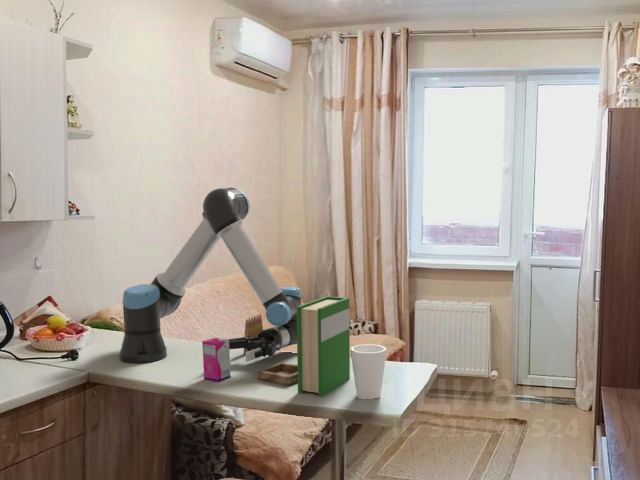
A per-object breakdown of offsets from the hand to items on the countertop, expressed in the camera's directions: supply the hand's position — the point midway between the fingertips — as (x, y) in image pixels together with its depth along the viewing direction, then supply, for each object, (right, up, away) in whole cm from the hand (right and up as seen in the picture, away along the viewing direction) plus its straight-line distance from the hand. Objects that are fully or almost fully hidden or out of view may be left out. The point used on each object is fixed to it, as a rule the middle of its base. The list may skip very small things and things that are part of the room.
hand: (228, 353), depth 201 cm
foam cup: (+40, -8, -20) cm, 46 cm away
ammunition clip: (+5, -4, +28) cm, 29 cm away
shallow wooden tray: (+17, -7, -3) cm, 19 cm away
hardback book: (+29, -7, -11) cm, 32 cm away
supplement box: (-3, -7, -3) cm, 8 cm away
